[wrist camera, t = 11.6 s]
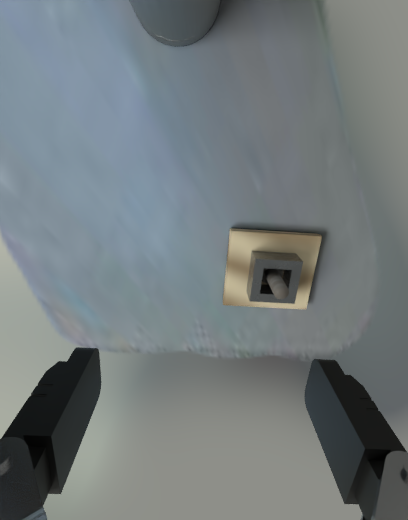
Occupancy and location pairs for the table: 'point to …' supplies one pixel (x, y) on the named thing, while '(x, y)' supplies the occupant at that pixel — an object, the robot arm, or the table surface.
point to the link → (273, 261)
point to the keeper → (266, 241)
